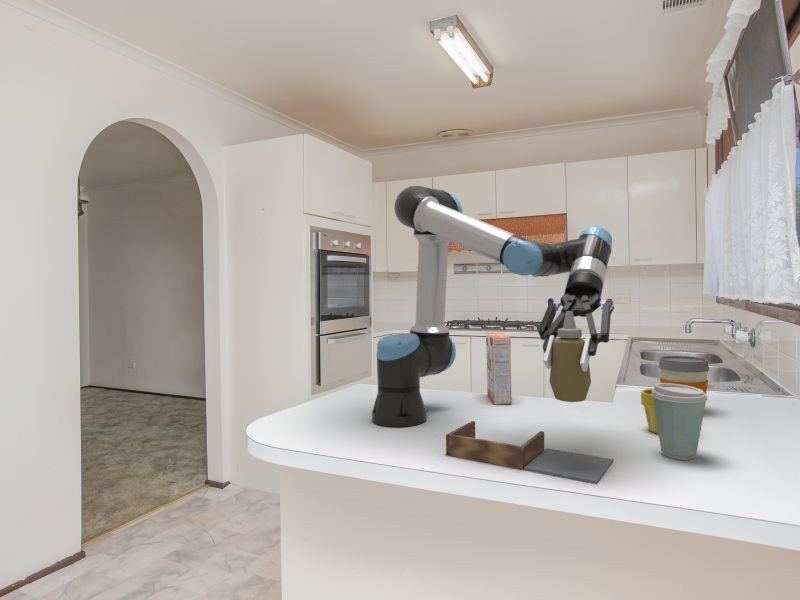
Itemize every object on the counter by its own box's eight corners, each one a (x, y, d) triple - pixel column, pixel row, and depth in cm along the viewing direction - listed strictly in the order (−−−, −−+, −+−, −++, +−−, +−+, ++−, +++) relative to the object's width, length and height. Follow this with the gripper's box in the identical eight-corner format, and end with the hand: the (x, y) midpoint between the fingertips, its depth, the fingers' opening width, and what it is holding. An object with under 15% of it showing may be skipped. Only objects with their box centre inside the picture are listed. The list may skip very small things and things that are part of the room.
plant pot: (683, 427, 132) (683, 389, 132) (692, 439, 122) (692, 397, 122) (639, 424, 135) (638, 387, 135) (643, 435, 126) (643, 395, 125)
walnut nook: (446, 454, 114) (445, 434, 114) (472, 439, 125) (472, 420, 125) (523, 469, 104) (523, 447, 104) (544, 451, 115) (544, 431, 115)
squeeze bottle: (594, 404, 101) (593, 312, 100) (551, 403, 102) (550, 312, 102) (588, 395, 109) (587, 309, 108) (548, 394, 110) (547, 310, 110)
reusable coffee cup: (688, 419, 139) (688, 363, 139) (648, 409, 151) (648, 357, 150) (719, 413, 144) (719, 360, 144) (678, 404, 156) (678, 354, 155)
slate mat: (524, 470, 104) (524, 467, 104) (546, 450, 116) (546, 448, 116) (596, 484, 96) (596, 481, 96) (613, 461, 108) (613, 459, 108)
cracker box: (486, 395, 173) (485, 332, 172) (504, 395, 173) (503, 332, 172) (492, 405, 159) (491, 337, 158) (512, 405, 159) (511, 336, 158)
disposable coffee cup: (695, 448, 116) (695, 381, 115) (716, 465, 105) (717, 391, 104) (644, 446, 117) (644, 380, 117) (660, 463, 107) (660, 390, 106)
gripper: (635, 293, 112) (620, 381, 99) (546, 294, 123) (522, 373, 110) (630, 268, 108) (614, 357, 95) (538, 271, 119) (512, 351, 106)
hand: (564, 365), depth 102 cm, fingers closed on squeeze bottle, 6 cm apart
